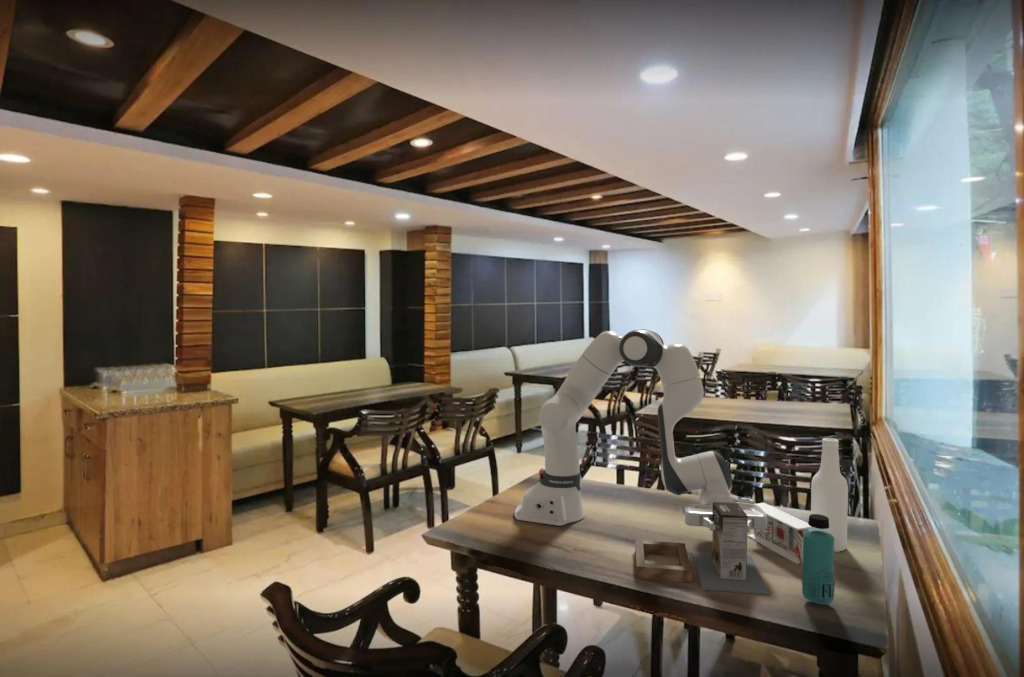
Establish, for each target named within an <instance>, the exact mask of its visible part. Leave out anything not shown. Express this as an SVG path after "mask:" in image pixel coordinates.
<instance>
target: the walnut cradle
mask: <svg viewBox="0 0 1024 677" xmlns="http://www.w3.org/2000/svg"><path fill="white" fill-rule="evenodd" d="M634 544H635V547H634V548H635V550H634V551H635V568H636V579H641V580H655V581H656V580H657V581H664V582H665V581H666V582H679V583H689V584H690V583H691V584H692V583H693V582H692V581H693V580H692V579H693V576H692V575H693V572H692V567H691V562H690V559H689V554H688V551H687V548H686V547H687V546H686V543H685V542H684V543H683V542H674V541H673V542H671V541H654V540H642V539H641V540H640V539H635V542H634ZM645 555H647V556H648V555H649V556H660V557H661V556H662V557H676V558H677V560H678V565H669V564H656V563H646V562H645V561H646V560H645Z"/></svg>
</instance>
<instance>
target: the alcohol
mask: <svg viewBox="0 0 1024 677" xmlns="http://www.w3.org/2000/svg"><path fill="white" fill-rule="evenodd" d="M821 441H822V442H821V445H822V447H821V449H822V450H821V456H820V457H821V458H820V459H821V460H820V465H819V466H820V467H819V470H818V471H817V472H816V473H815V474H814V476H812V480H811V484H810V485H811V486H810V487H811V491H810V492H811V494H810V496H811V497H810V502H811V503H810V515H811V514H820V515H824V516H826V517H828V518H829V528H828V529H824V530H826V531H828V532H829V533H831V534H832V536H833V537H834V538H835V541H834V553H841V552H840V551H842V552H844V551H845V550H846V549H847V546H848V543H847V542H848V514H849V513H848V512H849V511H848V508H849V507H848V506H849V486H848V482H847V480H846V478H845V477H844V475H842V473H841V471H840V454H839V447H840V445H839V443H840V441H839V440H838V439H837V438H833V437H825V438H822V440H821ZM843 550H844V551H843Z"/></svg>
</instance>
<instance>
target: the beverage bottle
mask: <svg viewBox="0 0 1024 677" xmlns="http://www.w3.org/2000/svg"><path fill="white" fill-rule="evenodd" d="M807 521H808V522H807V523H808V524H809V525H810V526H811V527H814V528H810V529H808V530H806V531H805V532H804V533H803V564H802V577H801V590H802V592H801V594H802V596H803V598H805V599H806V600H807V601H809V602H812V603H814V604H818V605H829V604H832V603H833V601H834V600H835V593H836V592H835V588H836V587H835V565H836V563H835V561H836V560H835V558H836V555H835V552H834V541H835V538H834V537H833V536H832V534H831V533H829V532H828V531H826V530H824V529H828V528H829V518H828V517H826V516H824V515H820V514H811V513H810V514H809V516H808V520H807Z"/></svg>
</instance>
